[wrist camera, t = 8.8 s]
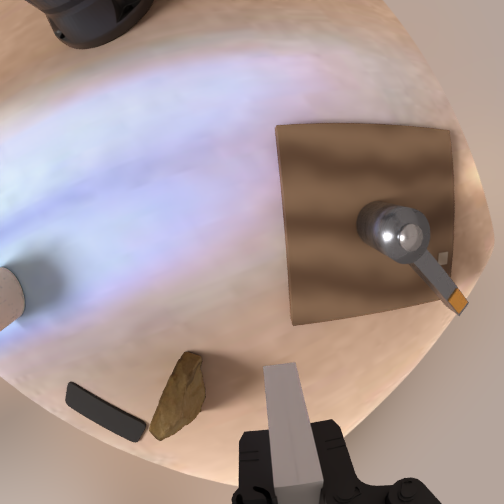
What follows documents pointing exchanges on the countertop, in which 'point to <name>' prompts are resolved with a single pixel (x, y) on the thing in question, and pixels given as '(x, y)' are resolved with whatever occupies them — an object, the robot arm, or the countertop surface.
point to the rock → (179, 398)
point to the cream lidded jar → (10, 298)
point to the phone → (104, 413)
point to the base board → (348, 207)
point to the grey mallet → (408, 246)
